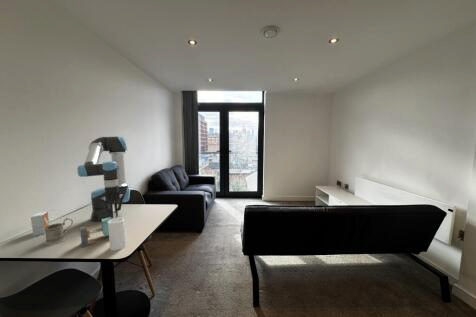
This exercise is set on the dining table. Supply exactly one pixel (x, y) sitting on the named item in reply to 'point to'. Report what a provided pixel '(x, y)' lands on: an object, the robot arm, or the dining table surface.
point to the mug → (55, 233)
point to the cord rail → (86, 234)
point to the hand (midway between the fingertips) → (114, 221)
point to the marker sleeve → (105, 226)
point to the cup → (117, 233)
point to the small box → (39, 223)
